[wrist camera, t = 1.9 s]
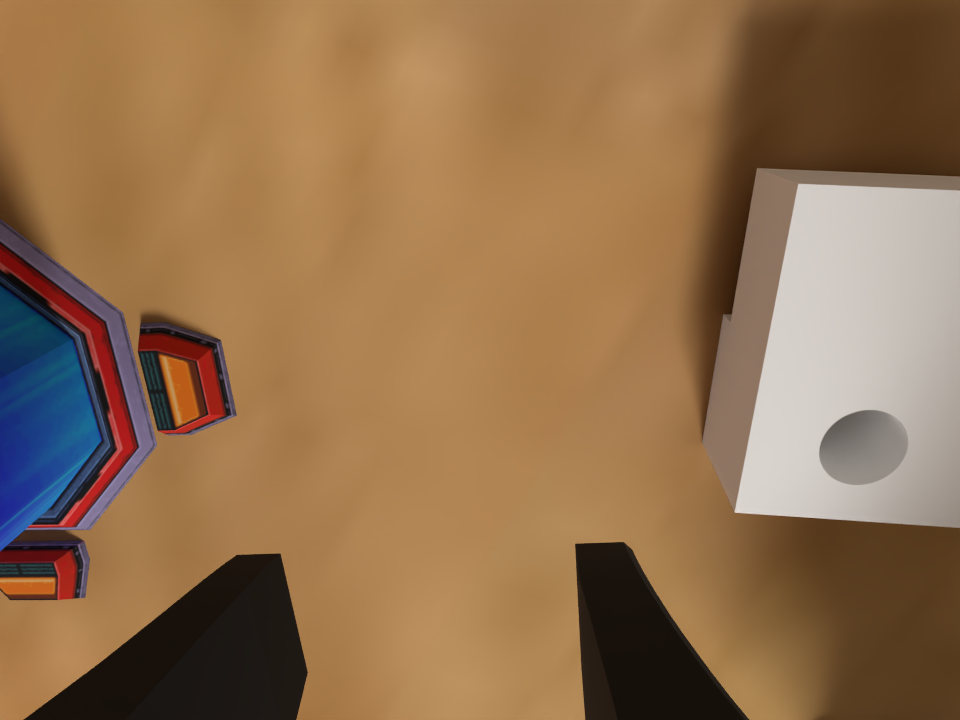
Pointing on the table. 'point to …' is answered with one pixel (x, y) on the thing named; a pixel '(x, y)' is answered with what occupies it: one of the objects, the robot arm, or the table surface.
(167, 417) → the fantasy tower
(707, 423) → the bracket
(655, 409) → the table surface
